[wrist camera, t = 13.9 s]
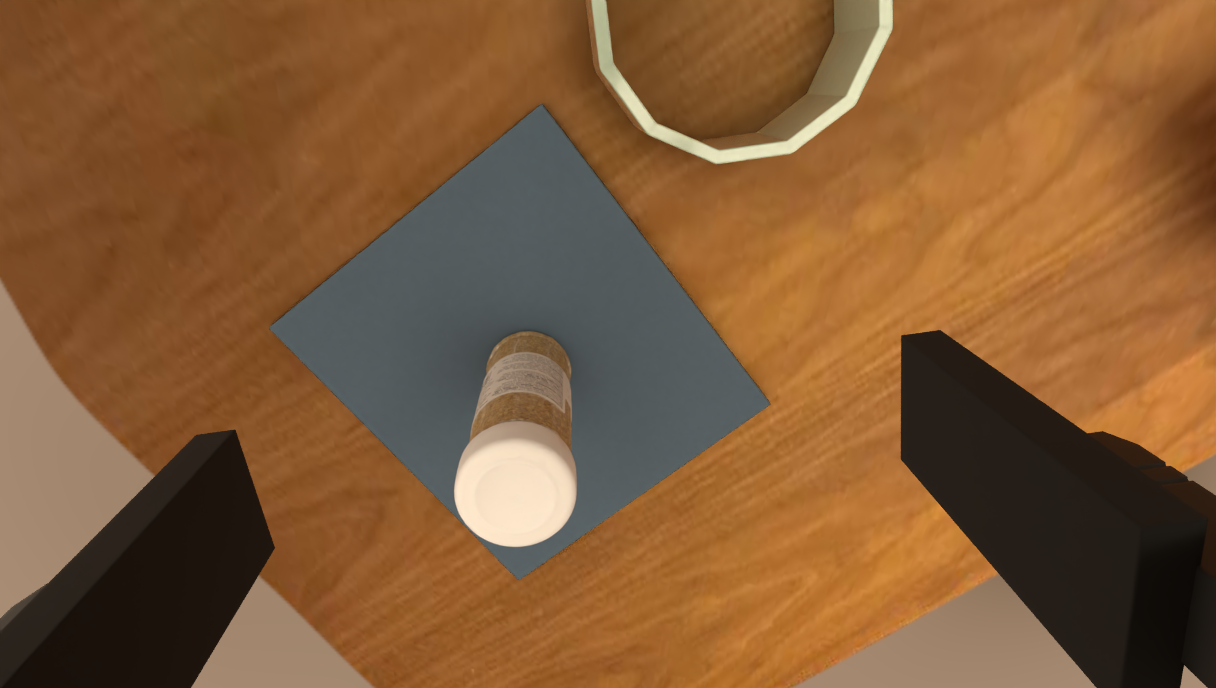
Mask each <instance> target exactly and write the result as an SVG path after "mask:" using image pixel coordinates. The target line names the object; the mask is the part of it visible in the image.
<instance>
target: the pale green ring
mask: <svg viewBox="0 0 1216 688" xmlns="http://www.w3.org/2000/svg"><path fill="white" fill-rule="evenodd" d="M585 2H586V10H587V17H588V25H589V33H590V41H591V49H592V56H593V64H594V70H595V72H596V74H597V75H598V77H599V78H600V79H601V81H602V82H603V83H604V85H605V86H606V88H607V89H608V90H609V92H610V93H611V94H612V96H613V97H614V99H615V100H616V101H617V103H618V104H619V105H620V107H621V108H622V110H623V111H624V112H625V114H626V115H627V116H628V118H629V119H630V121H631V122H632V123H633V125H634V126H635V127H636V128H638V129H639V130H641V131H642V132H644V133H645V134H647V135H649V136H651V137H653V138H656V139H658V140H660V141H663V142H665V143H667V144H670V145H672V146H674V147H677V148H679V149H681V150H684V151H686V152H688V153H691V154H693V155H695V156H698V157H700V158H702V159H705V160H707V161H709V162H712V163H714V164H724V163H731V162H738V161H745V160H753V159H760V158H767V157H774V156H781V155H788V154H792V153H794V152H795V151H796V150H797V149H799V148H800V147H801V146H803V145H804V144H805V143H807V142H808V141H809V140H811V139H812V138H813V137H815V136H816V135H817V134H819V133H820V132H821V131H823V130H824V129H825V128H827V127H828V126H829V125H830V124H832V123H833V122H834V121H836V120H837V119H838V118H840V117H841V116H842V115H844V114H845V113H846V112H848V111H849V110H850V109H852V108H853V107H854V106H855V105H856V103H857V101H858V99H859V97H860V95H861V93H862V91H863V89H864V87H865V85H866V83H867V81H868V79H869V77H870V75H871V73H872V70H873V68H874V66H875V64H876V62H877V60H878V58H879V56H880V54H881V52H882V50H883V48H884V46H885V44H886V42H887V40H888V38H889V36H890V34H891V32H892V29H893V0H834V33H835V34H834V36H833V38H832V40H831V43H830V45H829V47H828V49H827V51H826V53H825V55H824V57H823V60H822V62H821V64H820V66H819V68H818V70H817V72H816V75H815V77H814V79H813V81H812V83H811V85H810V87H809V89H808V92H807V94H806V95H804V96H803V97H802V98H800V99H799V100H798V101H797V102H795V103H794V104H793V105H791V106H790V107H789V108H787V109H786V110H785V111H784V112H782V113H781V114H780V115H778V116H777V117H776V118H774V119H773V120H772V121H771V122H769V123H768V124H767V125H765V126H764V127H763V128H761V129H760V130H759V131H758V132H754V133H747V134H740V135H733V136H726V137H719V138H712V139H705V140H696V139H693V138H691V137H689V136H686V135H684V134H682V133H679V132H677V131H675V130H673V129H670V128H668V127H666V126H663V125H661V124H659V123H656V122H655V120H654V119H653V118H652V116H651V115H650V113H649V112H648V111H647V109H646V108H645V106H644V105H643V104H642V102H641V101H640V99H639V98H638V97H637V95H636V94H635V92H634V91H633V90H632V88H631V87H630V85H629V84H628V83H627V81H626V80H625V78H624V77H623V76H622V74H621V73H620V71H619V70H618V69H617V67H616V66H615V64H614V61H613V53H612V45H611V36H610V28H609V20H608V11H607V3H606V0H585Z"/></svg>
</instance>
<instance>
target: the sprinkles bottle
mask: <svg viewBox="0 0 1216 688" xmlns="http://www.w3.org/2000/svg"><path fill="white" fill-rule="evenodd" d="M486 372H487V375H486V377H485V379H484V381H483V385H482V389H481V392H480V396H479V400H478V404H477V408H476V412H475V416H474V420H473V423H472V428H471V437H470V441H469V444H468V445H467V447H466V448H465V450H464V451H463V453H462V456H461V459H460V462H459V466H458V469H457V474H456V480H455V486H454V498H455V503H456V507H457V510H458V512H459V514H460V516H461V518H462V519H463V521H464V523H465V524H466V525H467V526H468V527H469V528H470V529H471V530H472V531H473V532H474V533H475V534H477V535H478V536H479V537H481V538H483V539H485V540H487V541H489V542H492V543H494V544H498V545H502V546H509V547H522V546H529V545H533V544H536V543H539V542H542V541H544V540H546V539H548V538H549V537H551V536H552V535H554V534H555V533H557V532H558V531H559V530H560V529H561V528H562V527H563V526H564V524H565V523H566V522H567V520H568V519H569V517H570V516H571V514H572V511H573V509H574V506H575V502H576V495H577V476H576V465H575V461H574V458H573V456H572V453H571V421H572V401H571V387H570V379H571V364H570V361H569V358H568V356H567V354H566V352H565V350H564V349H563V348H562V347H561V346H560V344H559V343H557V342H556V341H555V340H554V339H553V338H552V337H549V336H547V335H544V334H542V333H538V332H534V331H521V332H518V333H515V334H512V335H510V336H508V337H506V338H504V339H503V340H502V341H501V342H499V343H498V344H497V345H496V346H495V347H494V349H493V350H492V353H491V355H490V356H489V359H488V362H487V367H486Z"/></svg>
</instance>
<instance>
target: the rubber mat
mask: <svg viewBox="0 0 1216 688" xmlns="http://www.w3.org/2000/svg"><path fill="white" fill-rule="evenodd" d="M269 329H270V330H271V331H272V332H273V333H274V334H275V335H276V336H277V337H278V338H279V339H280V340H281V341H282V342H283V343H284V344H285V345H286V346H287V347H288V348H289V349H290V350H291V351H292V352H293V353H294V354H295V355H296V356H297V357H298V358H299V359H300V360H301V361H302V362H303V363H304V364H305V365H306V366H307V367H308V368H309V369H310V370H311V371H312V372H313V373H314V374H315V375H316V376H317V377H318V378H319V379H320V380H321V381H322V382H323V383H324V384H325V385H326V386H327V387H328V388H329V389H330V391H331V392H332V393H333V394H334V395H335V396H336V397H337V398H338V399H339V400H340V401H341V402H342V403H343V404H344V405H345V406H346V407H347V408H348V409H349V410H350V411H351V412H352V413H353V414H354V415H355V416H356V417H357V418H358V419H359V420H360V421H361V422H362V423H363V424H364V425H365V426H366V427H367V428H368V429H369V430H370V431H371V432H372V433H373V434H374V435H375V436H376V437H377V438H378V439H379V440H380V441H381V442H382V443H383V444H384V445H385V446H386V447H387V448H388V449H389V450H390V451H391V452H392V453H393V454H394V455H395V456H396V457H397V458H398V459H399V460H400V461H401V462H402V463H403V464H404V465H405V466H406V467H407V468H408V469H409V470H410V471H411V472H412V473H413V474H414V475H415V476H416V477H417V478H418V479H419V480H420V481H421V482H422V483H423V484H424V485H425V486H426V487H427V488H428V489H429V490H430V491H431V492H432V493H433V494H434V495H435V497H436V498H437V499H438V500H439V501H440V502H441V503H442V504H443V505H444V506H445V507H446V508H447V509H448V510H449V511H450V512H451V513H452V514H453V515H454V516H455V517H456V518H457V519H458V520H459V521H460V522H461V523H462V524H463V525H464V526H465V527H466V528H467V529H468V530H469V531H470V532H471V533H472V534H473V535H474V536H475V537H476V538H477V539H478V540H479V541H480V542H481V543H482V544H483V545H484V546H485V547H486V548H487V549H488V550H489V551H490V552H491V553H492V554H493V555H494V556H495V557H496V558H497V559H498V560H499V561H500V562H501V563H502V564H503V565H504V566H505V567H506V568H507V569H508V570H509V571H510V572H511V573H512V574H513V575H514V576H515V577H516V578H517V579H518V580H520V579H522V578H523V577H524V576H526V575H527V574H529V573H530V572H532V571H533V570H534V569H536V568H537V567H539V566H540V565H542V564H543V563H544V562H546V561H547V560H549V559H550V558H552V557H553V556H554V555H556V554H557V553H559V552H560V551H562V550H563V549H564V548H566V547H567V546H569V545H570V544H572V543H573V542H574V541H576V540H577V539H579V538H580V537H582V536H583V535H584V534H586V533H587V532H589V531H590V530H592V529H593V528H594V527H596V526H597V525H599V524H600V523H602V522H603V521H604V520H606V519H607V518H609V517H610V516H612V515H613V514H614V513H616V512H617V511H619V510H620V509H622V508H623V507H624V506H626V505H627V504H629V503H630V502H632V501H633V500H634V499H636V498H637V497H639V496H640V495H642V494H643V493H644V492H646V491H647V490H649V489H650V488H652V487H653V486H654V485H656V484H657V483H659V482H660V481H662V480H663V479H665V478H666V477H667V476H669V475H670V474H672V473H673V472H675V471H676V470H677V469H679V468H680V467H682V466H683V465H685V464H686V463H687V462H689V461H690V460H692V459H693V458H695V457H696V456H697V455H699V454H700V453H702V452H703V451H705V450H706V449H707V448H709V447H710V446H712V445H713V444H715V443H716V442H717V441H719V440H720V439H722V438H723V437H725V436H726V435H727V434H729V433H730V432H732V431H733V430H735V429H736V428H737V427H739V426H740V425H742V424H743V423H745V422H746V421H747V420H749V419H750V418H752V417H753V416H755V415H756V414H757V413H759V412H760V411H762V410H763V409H765V408H766V407H767V406H769V405H770V402H769V401H768V399H767V398H766V397H765V395H764V394H763V393H762V392H761V390H760V389H759V388H758V386H757V385H756V384H755V382H754V381H753V380H752V378H751V377H750V376H749V374H748V373H747V372H746V371H745V369H744V368H743V367H742V365H741V364H740V363H739V361H738V360H737V359H736V357H735V356H734V355H733V353H732V352H731V351H730V350H729V348H728V347H727V346H726V344H725V343H724V342H723V340H722V339H721V338H720V336H719V335H718V334H717V332H716V331H715V330H714V329H713V327H712V326H711V325H710V323H709V322H708V321H707V319H706V318H705V317H704V315H703V314H702V313H701V311H700V310H699V309H698V307H697V306H696V305H695V304H694V302H693V301H692V300H691V298H690V297H689V296H688V294H687V293H686V292H685V290H684V289H683V288H682V286H681V285H680V284H679V283H678V281H677V280H676V279H675V277H674V276H673V275H672V273H671V272H670V271H669V269H668V268H667V267H666V265H665V264H664V263H663V262H662V260H661V259H660V258H659V256H658V255H657V254H656V252H655V251H654V250H653V248H652V247H651V246H650V244H649V243H648V242H647V241H646V239H645V238H644V237H643V235H642V234H641V233H640V231H639V230H638V229H637V227H636V226H635V225H634V223H633V222H632V221H631V220H630V218H629V217H628V216H627V214H626V213H625V212H624V210H623V209H622V208H621V206H620V205H619V204H618V202H617V201H616V200H615V198H614V197H613V196H612V195H611V193H610V192H609V191H608V189H607V188H606V187H605V185H604V184H603V183H602V181H601V180H600V179H599V177H598V176H597V175H596V174H595V172H594V171H593V170H592V168H591V167H590V166H589V164H588V163H587V162H586V160H585V159H584V158H583V156H582V155H581V154H580V153H579V151H578V150H577V149H576V147H575V146H574V145H573V143H572V142H571V141H570V139H569V138H568V137H567V135H566V134H565V133H564V132H563V130H562V129H561V128H560V126H559V125H558V124H557V122H556V121H555V120H554V118H553V117H552V116H551V114H550V113H549V112H548V110H547V109H546V108H545V107H544V105H543V104H541V105H540V106H538V107H537V108H536V109H535V110H533V111H532V112H531V113H530V114H529V115H527V116H526V117H525V118H524V119H522V120H521V121H520V122H519V123H518V124H516V125H515V126H514V127H513V128H511V129H510V130H509V131H508V132H507V133H505V134H504V135H503V136H502V137H501V138H499V139H498V140H497V141H496V142H494V143H493V144H492V145H491V146H490V147H488V148H487V149H486V150H485V151H483V152H482V153H481V154H480V155H479V156H477V157H476V158H475V159H474V160H472V161H471V162H470V163H469V164H468V165H466V166H465V167H464V168H463V169H461V170H460V171H459V172H458V173H457V174H455V175H454V176H453V177H452V178H451V179H449V180H448V181H447V182H446V183H444V184H443V185H442V186H441V187H440V188H438V189H437V190H436V191H435V192H433V193H432V194H431V195H430V196H429V197H427V198H426V199H425V200H424V201H422V202H421V203H420V204H419V205H418V206H416V207H415V208H414V209H413V210H412V211H410V212H409V213H408V214H407V215H405V216H404V217H403V218H402V219H401V220H399V221H398V222H397V223H396V224H394V225H393V226H392V227H391V228H390V229H388V230H387V231H386V232H385V233H383V234H382V235H381V236H380V237H379V238H377V239H376V240H375V241H374V242H372V243H371V244H370V245H369V246H368V247H366V248H365V249H364V250H363V251H362V252H360V253H359V254H358V255H357V256H355V257H354V258H353V259H352V260H351V261H349V262H348V263H347V264H346V265H344V266H343V267H342V268H341V269H340V270H338V271H337V272H336V273H335V274H333V275H332V276H331V277H330V278H329V279H327V280H326V281H325V282H324V283H323V284H321V285H320V286H319V287H318V288H316V289H315V290H314V291H313V292H312V293H310V294H309V295H308V296H307V297H305V298H304V299H303V300H302V301H301V302H299V303H298V304H297V305H296V306H294V307H293V308H292V309H291V310H290V311H288V312H287V313H286V314H285V315H283V316H282V317H281V318H280V319H279V320H277V321H276V322H275V323H274V324H273V325H271V326H270V327H269ZM521 331H534V332H538V333H542V334H544V335H547V336H549V337H552V338H553V339H554V340H555V341H556V342H557V343H559V344H560V346H561V347H562V348H563V349H564V350H565V352H566V354H567V356H568V358H569V361H570V364H571V379H570V387H571V401H572V421H571V453H572V456H573V458H574V461H575V465H576V476H577V495H576V502H575V506H574V509H573V511H572V514H571V516H570V517H569V519H568V520H567V522H566V523H565V524H564V526H563V527H562V528H561V529H560V530H559V531H558V532H557V533H555V534H554V535H552V536H551V537H549V538H548V539H546V540H544V541H542V542H539V543H536V544H533V545H529V546H522V547H509V546H502V545H498V544H494V543H492V542H489V541H487V540H485V539H483V538H481V537H479V536H478V535H477V534H475V533H474V532H473V531H472V530H471V529H470V528H469V527H468V526H467V525H466V524H465V523H464V521H463V519H462V518H461V516H460V514H459V512H458V510H457V507H456V503H455V498H454V486H455V480H456V474H457V469H458V466H459V462H460V459H461V456H462V453H463V451H464V450H465V448H466V447H467V445H468V444H469V441H470V437H471V428H472V423H473V420H474V416H475V412H476V408H477V404H478V400H479V396H480V392H481V389H482V385H483V381H484V379H485V377H486V375H487V372H486V367H487V362H488V359H489V356H490V355H491V353H492V350H493V349H494V347H495V346H496V345H497V344H498V343H499V342H501V341H502V340H503V339H504V338H506V337H508V336H510V335H512V334H515V333H518V332H521Z"/></svg>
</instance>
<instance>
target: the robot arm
mask: <svg viewBox="0 0 1216 688" xmlns="http://www.w3.org/2000/svg"><path fill="white" fill-rule="evenodd" d="M901 460H902V461H903V462H904V463H905V465H906V466H907V467H908V468H909V469H910V470H911V472H912V473H913V474H914V475H915V476H916V477H917V479H918V480H919V481H920V482H921V483H922V484H923V486H924V487H925V488H926V489H927V490H928V491H929V493H930V494H931V495H932V496H933V497H934V498H935V500H936V501H937V502H938V503H939V504H940V505H941V507H942V508H943V509H944V510H945V511H946V512H947V514H948V515H949V516H950V517H951V518H952V519H953V521H954V522H955V523H956V524H957V525H958V526H959V528H960V529H961V530H962V531H963V532H964V533H965V535H966V536H967V537H968V538H969V539H970V541H971V542H972V543H973V544H974V545H975V546H976V548H977V549H978V550H979V551H980V552H981V553H982V555H983V556H984V557H985V558H986V559H987V560H988V562H989V563H990V564H991V565H992V566H993V567H994V569H995V570H996V571H997V572H998V573H999V574H1000V576H1001V577H1002V578H1003V579H1004V580H1005V581H1006V583H1007V584H1008V585H1009V586H1010V587H1011V588H1012V589H1013V591H1014V592H1015V593H1016V594H1017V595H1018V597H1019V598H1020V599H1021V600H1022V601H1023V602H1024V604H1025V605H1026V606H1027V607H1028V608H1029V609H1030V610H1031V612H1032V613H1033V614H1034V615H1035V616H1036V618H1037V619H1038V620H1039V621H1040V622H1041V623H1042V625H1043V626H1044V627H1045V628H1046V629H1047V630H1048V632H1049V633H1050V634H1051V635H1052V636H1053V637H1054V639H1055V640H1056V641H1057V642H1058V643H1059V644H1060V646H1061V647H1062V648H1063V649H1064V650H1065V651H1066V653H1067V654H1068V655H1069V656H1070V657H1071V658H1072V660H1073V661H1074V662H1075V663H1076V664H1077V665H1078V666H1079V668H1080V669H1081V670H1082V671H1083V672H1084V674H1085V675H1086V676H1087V677H1088V678H1089V679H1090V680H1091V682H1092V683H1093V684H1094V685H1095V686H1096V687H1097V688H1180V685H1181V679H1182V673H1183V667H1184V665H1185V666H1186V667H1187V668H1188V669H1189V670H1190V671H1191V672H1192V673H1193V674H1194V675H1195V676H1196V677H1197V678H1198V679H1199V680H1200V681H1201V682H1202V683H1203V684H1204V685H1206V686H1207V687H1208V688H1216V495H1214V494H1213V493H1211V492H1209V491H1208V490H1206V489H1205V488H1203V487H1202V486H1200V485H1199V484H1197V483H1196V482H1194V481H1188V479H1187V476H1185V475H1184V474H1182V473H1181V472H1179V471H1178V470H1176V469H1175V468H1173V467H1172V466H1166V464H1165V462H1164V461H1162V460H1161V459H1159V458H1158V457H1156V456H1155V455H1153V454H1152V453H1150V452H1149V451H1147V450H1146V449H1144V448H1143V447H1141V446H1140V445H1138V444H1135V443H1133V442H1130V441H1127V440H1124V439H1122V438H1119V437H1116V436H1114V435H1111V434H1108V433H1106V432H1103V431H1102V432H1095V433H1086V432H1084V431H1083V430H1082V429H1080V428H1079V427H1077V426H1076V425H1074V424H1073V423H1072V422H1070V421H1069V420H1067V419H1066V418H1064V417H1063V416H1062V415H1060V414H1059V413H1057V412H1056V411H1054V410H1053V409H1052V408H1050V407H1049V406H1047V405H1046V404H1045V403H1043V402H1042V401H1040V400H1039V399H1037V398H1036V397H1035V396H1033V395H1032V394H1030V393H1029V392H1027V391H1026V390H1025V389H1023V388H1022V387H1020V386H1019V385H1017V384H1016V383H1015V382H1013V381H1012V380H1010V379H1009V378H1007V377H1006V376H1005V375H1003V374H1002V373H1000V372H999V371H998V370H996V369H995V368H993V367H992V366H990V365H989V364H988V363H986V362H985V361H983V360H982V359H980V358H979V357H978V356H976V355H975V354H973V353H972V352H970V351H969V350H968V349H966V348H965V347H963V346H962V345H961V344H959V343H958V342H956V341H955V340H953V339H952V338H951V337H949V336H948V335H946V334H945V333H943V332H942V331H941V330H937V331H930V332H923V333H916V334H909V335H902V336H901ZM274 549H275V547H274V544H273V541H272V538H271V535H270V532H269V529H268V526H267V523H266V520H265V517H264V514H263V511H262V508H261V505H260V502H259V499H258V496H257V493H256V490H255V487H254V484H253V481H252V478H251V475H250V472H249V469H248V466H247V463H246V460H245V457H244V454H243V451H242V448H241V445H240V442H239V439H238V436H237V433H236V430H229V431H221V432H214V433H207V434H200V435H196V436H195V437H194V438H193V439H192V440H191V441H190V442H189V443H188V444H187V445H186V446H185V447H184V448H183V449H182V450H181V451H180V452H179V453H178V454H177V455H176V456H175V457H174V458H173V459H172V460H171V461H170V462H169V463H168V464H167V465H166V466H165V467H164V468H163V469H162V470H161V471H160V472H159V473H158V474H157V475H156V476H155V477H154V478H153V479H152V480H151V481H150V482H149V483H148V484H147V485H146V486H145V487H144V488H143V489H142V490H141V491H140V492H139V493H138V494H137V495H136V496H135V497H134V498H133V499H132V500H131V501H130V502H129V503H128V504H127V505H126V506H125V507H124V508H123V509H122V510H121V511H120V512H119V513H118V514H117V515H116V516H115V517H114V518H113V519H112V520H111V521H110V522H109V523H108V524H107V525H106V526H105V527H104V528H103V529H102V530H101V531H100V532H99V533H98V534H97V535H96V536H95V537H94V538H93V539H92V540H91V541H90V542H89V543H88V544H87V545H86V546H85V547H84V548H83V549H82V550H81V551H80V552H79V553H78V554H77V555H76V556H75V557H74V558H73V559H72V560H71V561H70V562H69V563H68V564H67V565H66V566H65V567H64V568H63V569H62V570H61V571H60V572H59V573H58V574H57V575H56V576H55V577H54V578H53V579H52V580H51V581H50V582H49V583H48V584H46V585H45V586H43V587H41V588H40V589H39V590H37V591H35V592H34V593H32V594H31V595H29V596H28V597H26V598H25V599H23V600H22V601H20V602H19V603H18V604H16V605H14V606H13V607H12V608H11V609H10V610H9V611H8V612H7V613H6V614H4V615H3V616H2V618H0V688H191V687H192V685H193V684H194V682H195V680H196V679H197V677H198V675H199V673H200V672H201V670H202V669H203V666H204V665H205V663H206V662H207V660H208V659H209V657H210V655H211V654H212V652H213V650H214V648H215V647H216V645H217V644H218V642H219V640H220V638H221V637H222V635H223V634H224V632H225V630H226V629H227V627H228V625H229V623H230V622H231V620H232V619H233V617H234V615H235V614H236V612H237V610H238V609H239V607H240V605H241V604H242V602H243V600H244V599H245V597H246V595H247V594H248V592H249V590H250V589H251V587H252V585H253V584H254V582H255V580H256V579H257V577H258V575H259V574H260V572H261V570H262V569H263V567H264V565H265V564H266V562H267V560H268V559H269V557H270V555H271V554H272V552H273V550H274Z"/></svg>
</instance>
